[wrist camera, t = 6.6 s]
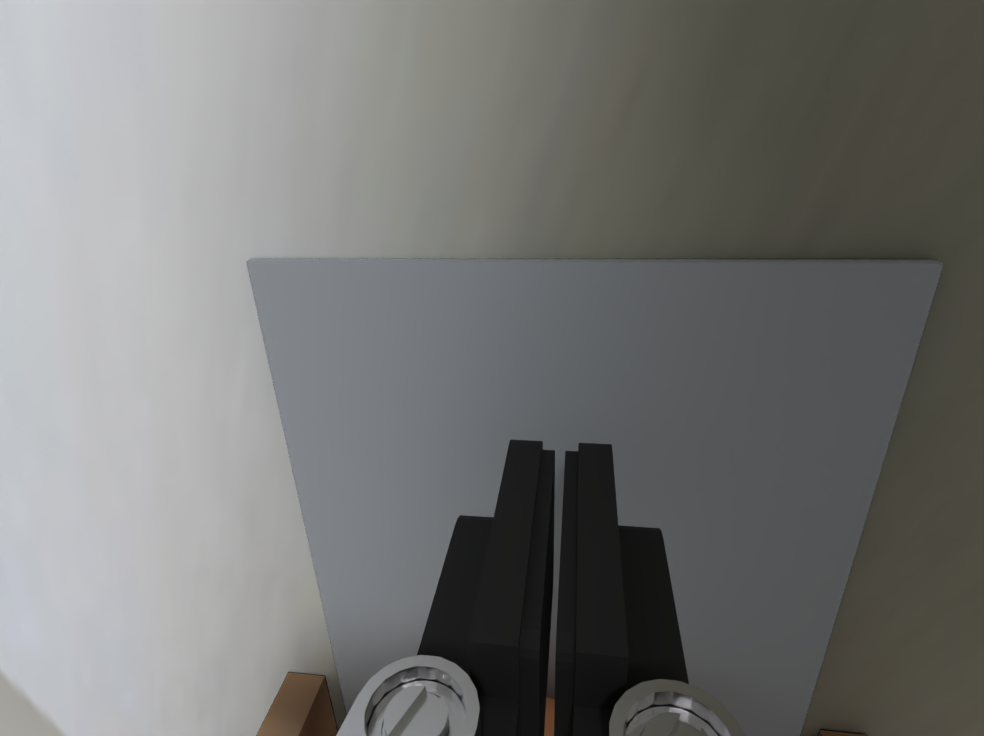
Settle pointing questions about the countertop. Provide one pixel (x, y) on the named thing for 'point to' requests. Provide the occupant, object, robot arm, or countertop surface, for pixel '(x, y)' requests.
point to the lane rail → (323, 710)
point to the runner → (598, 434)
